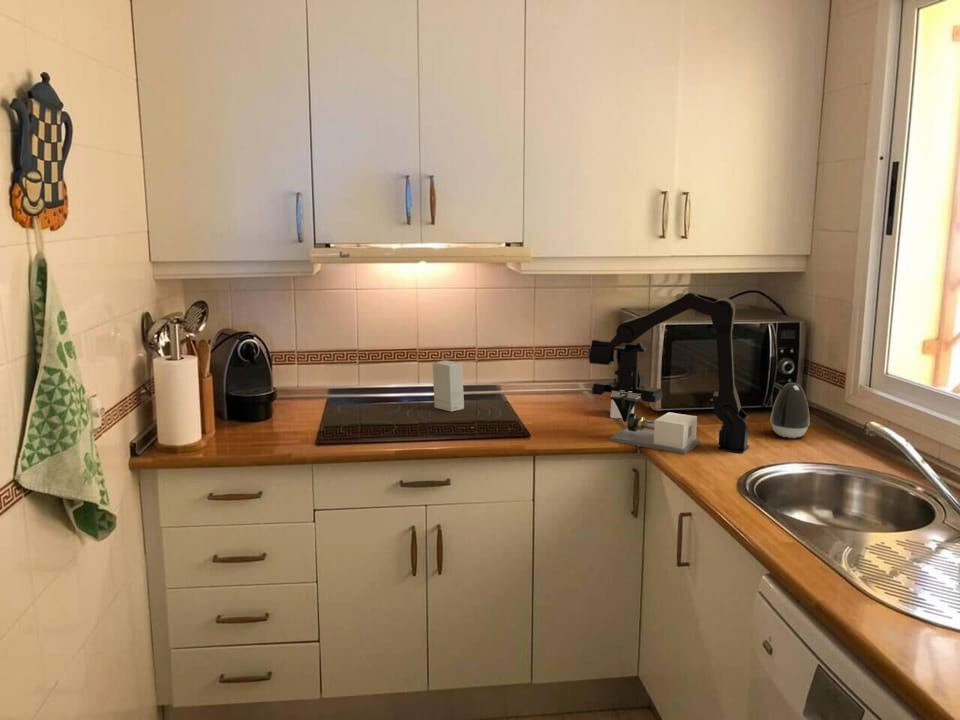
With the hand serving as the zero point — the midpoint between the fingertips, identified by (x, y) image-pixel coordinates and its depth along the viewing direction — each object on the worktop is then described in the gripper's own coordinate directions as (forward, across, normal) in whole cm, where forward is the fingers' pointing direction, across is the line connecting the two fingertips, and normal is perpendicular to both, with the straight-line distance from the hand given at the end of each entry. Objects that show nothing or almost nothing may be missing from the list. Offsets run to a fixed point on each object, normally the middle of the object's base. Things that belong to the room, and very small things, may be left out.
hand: (625, 421), depth 222 cm
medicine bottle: (+4, +10, -20) cm, 23 cm away
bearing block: (+4, -9, 0) cm, 10 cm away
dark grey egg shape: (+5, -37, -27) cm, 46 cm away
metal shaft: (+2, -9, 0) cm, 10 cm away
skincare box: (+4, +59, +3) cm, 59 cm away
